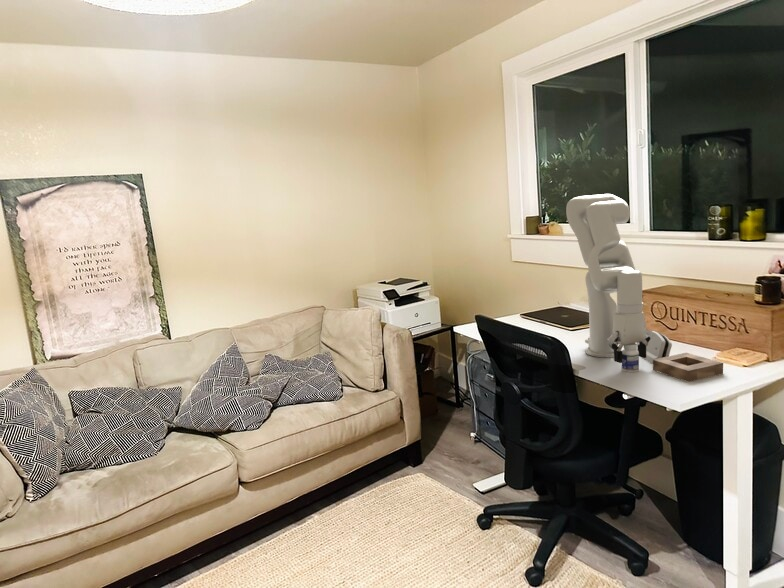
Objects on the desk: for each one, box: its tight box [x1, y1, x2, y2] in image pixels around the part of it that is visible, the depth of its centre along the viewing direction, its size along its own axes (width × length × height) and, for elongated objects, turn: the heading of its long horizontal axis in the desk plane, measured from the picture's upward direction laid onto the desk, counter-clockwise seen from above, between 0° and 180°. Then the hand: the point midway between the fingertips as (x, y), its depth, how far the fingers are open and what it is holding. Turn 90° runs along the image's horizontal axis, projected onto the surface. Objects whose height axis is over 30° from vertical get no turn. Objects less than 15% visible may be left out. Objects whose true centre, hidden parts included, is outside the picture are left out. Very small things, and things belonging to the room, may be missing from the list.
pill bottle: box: [621, 343, 640, 373], centre depth 185 cm, size 5×5×9 cm
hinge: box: [636, 330, 673, 365], centre depth 197 cm, size 17×5×10 cm, turn 2°
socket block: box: [652, 352, 724, 383], centre depth 179 cm, size 14×14×4 cm
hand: (630, 359), depth 185 cm, fingers open, 9 cm apart
